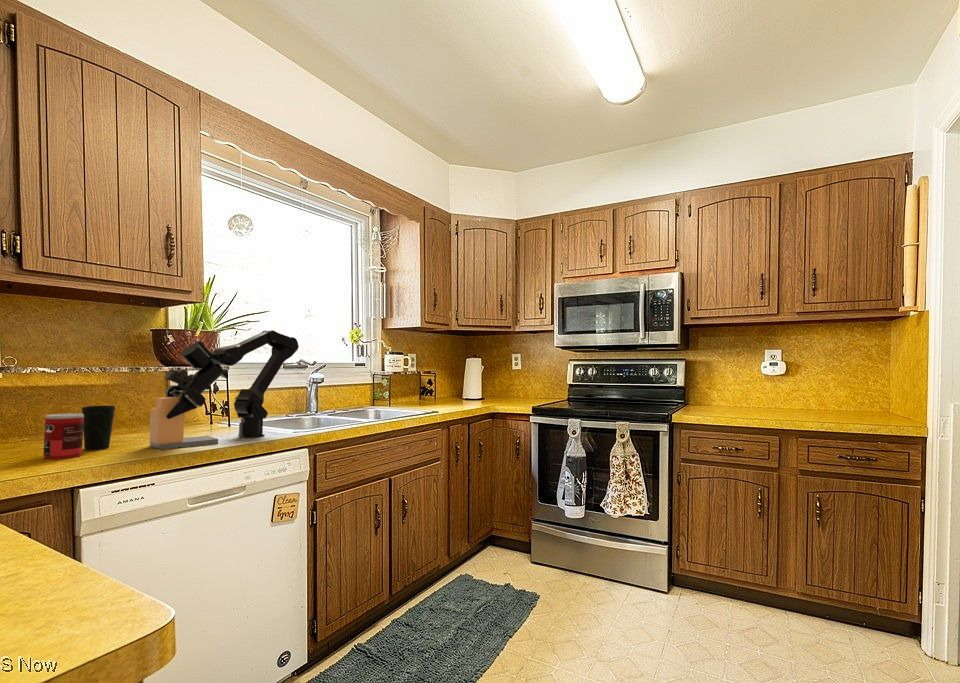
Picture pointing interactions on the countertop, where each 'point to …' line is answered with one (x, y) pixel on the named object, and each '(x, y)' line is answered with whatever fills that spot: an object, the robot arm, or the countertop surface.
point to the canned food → (63, 435)
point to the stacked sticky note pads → (166, 422)
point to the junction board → (187, 442)
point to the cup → (97, 426)
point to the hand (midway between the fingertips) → (162, 416)
